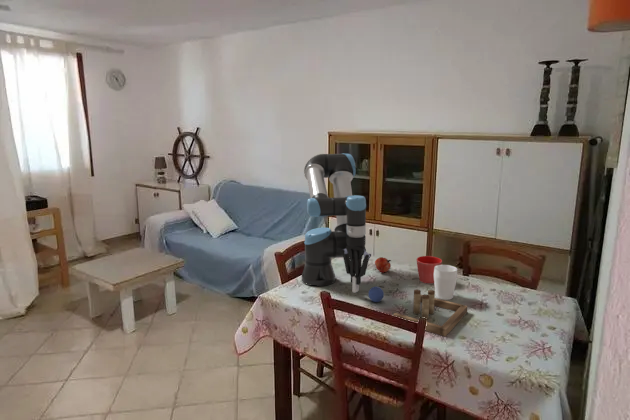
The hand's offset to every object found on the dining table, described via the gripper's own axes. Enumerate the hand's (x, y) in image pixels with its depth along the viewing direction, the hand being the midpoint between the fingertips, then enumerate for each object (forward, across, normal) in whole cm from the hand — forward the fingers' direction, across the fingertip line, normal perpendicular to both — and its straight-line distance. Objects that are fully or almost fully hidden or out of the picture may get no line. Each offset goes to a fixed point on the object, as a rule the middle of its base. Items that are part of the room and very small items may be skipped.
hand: (355, 291), depth 170 cm
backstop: (+2, +31, 0) cm, 31 cm away
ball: (-1, +9, 0) cm, 9 cm away
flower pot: (+2, +17, +33) cm, 37 cm away
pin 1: (+2, +31, -2) cm, 31 cm away
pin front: (+2, +26, 0) cm, 26 cm away
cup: (+2, +29, +20) cm, 36 cm away
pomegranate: (+2, -5, +31) cm, 32 cm away
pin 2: (+2, +31, +3) cm, 31 cm away
